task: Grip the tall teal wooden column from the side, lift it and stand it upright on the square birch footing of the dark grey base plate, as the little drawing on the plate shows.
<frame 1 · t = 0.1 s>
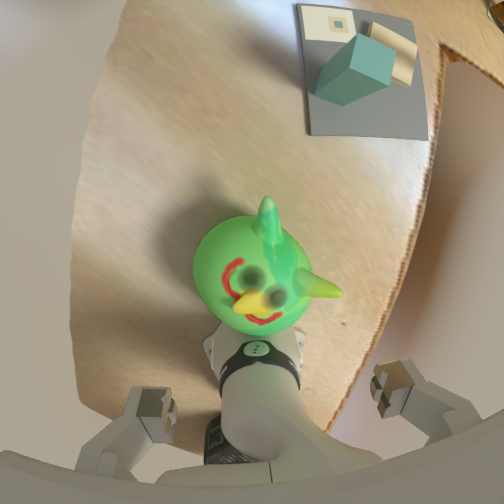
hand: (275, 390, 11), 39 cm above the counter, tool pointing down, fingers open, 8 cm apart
toy bird: (254, 259, 51), on the counter, touching arm
column: (332, 87, 42), point 1 cm above the counter, touching base plate
canister: (240, 430, 63), on the counter
base plate: (366, 69, 42), on the counter
condiment: (498, 19, 36), on the counter
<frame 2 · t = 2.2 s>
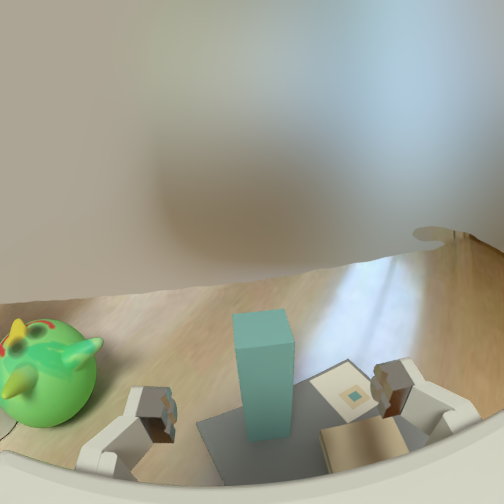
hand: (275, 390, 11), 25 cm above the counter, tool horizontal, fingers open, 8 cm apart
toy bird: (64, 405, 36), on the counter, touching arm
column: (266, 423, 34), point 1 cm above the counter, touching base plate
base plate: (323, 452, 30), on the counter
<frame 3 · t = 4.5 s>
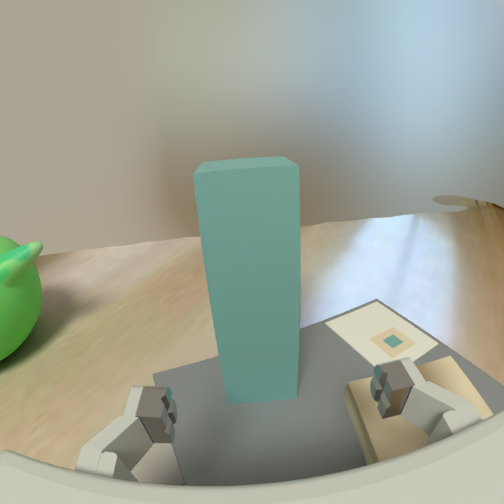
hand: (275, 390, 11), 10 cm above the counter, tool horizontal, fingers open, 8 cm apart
toy bird: (1, 352, 26), on the counter, touching arm
column: (259, 378, 23), point 1 cm above the counter, touching base plate
base plate: (352, 424, 18), on the counter
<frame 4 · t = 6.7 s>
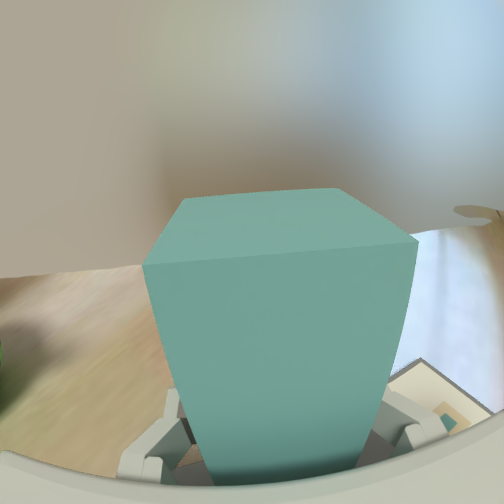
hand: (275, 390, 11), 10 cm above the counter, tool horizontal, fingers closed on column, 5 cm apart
column: (278, 491, 14), point 1 cm above the counter, touching base plate, gripper
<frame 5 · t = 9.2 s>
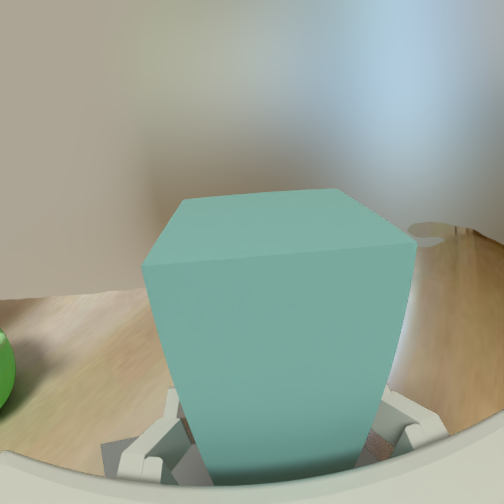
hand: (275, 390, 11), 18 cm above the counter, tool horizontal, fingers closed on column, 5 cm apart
column: (278, 491, 14), point 10 cm above the counter, touching gripper
when the fingers open (13 cm above the counter, at t = 11.5 s): column stays where it is, resting on base plate.
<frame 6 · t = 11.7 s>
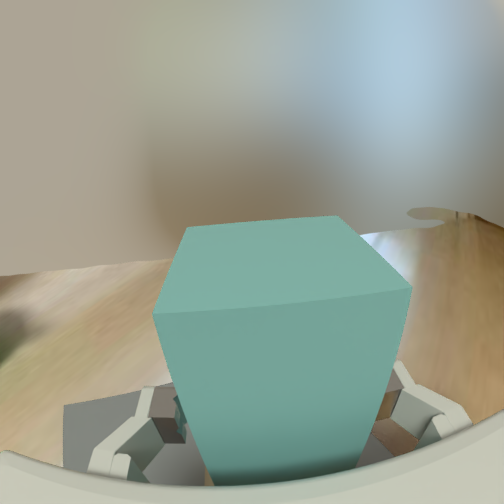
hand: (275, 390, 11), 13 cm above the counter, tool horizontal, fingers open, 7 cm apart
column: (278, 496, 14), point 3 cm above the counter, touching base plate
base plate: (216, 481, 17), on the counter
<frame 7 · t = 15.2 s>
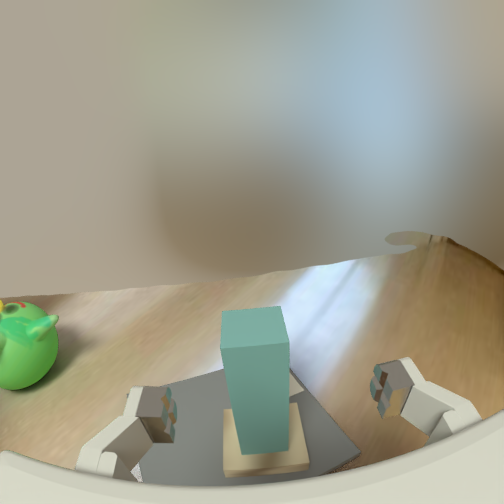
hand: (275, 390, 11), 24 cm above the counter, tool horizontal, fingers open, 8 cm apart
toy bird: (32, 376, 41), on the counter, touching arm
column: (263, 435, 30), point 3 cm above the counter, touching base plate
base plate: (229, 433, 34), on the counter
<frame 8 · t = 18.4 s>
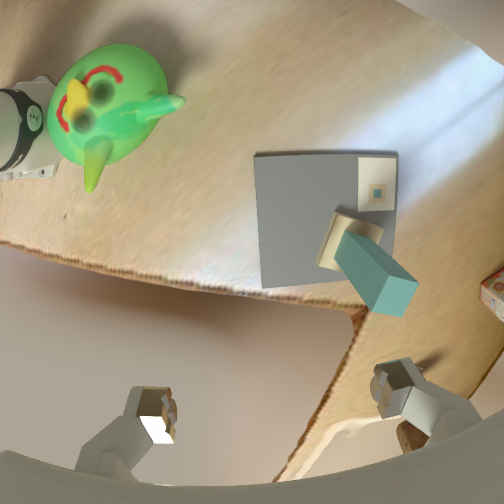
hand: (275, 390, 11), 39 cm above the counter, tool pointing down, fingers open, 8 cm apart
block: (409, 422, 77), on the counter
toy bird: (124, 109, 41), on the counter, touching arm
cracker box: (497, 280, 58), on the counter
column: (352, 248, 49), point 3 cm above the counter, touching base plate
base plate: (330, 220, 50), on the counter
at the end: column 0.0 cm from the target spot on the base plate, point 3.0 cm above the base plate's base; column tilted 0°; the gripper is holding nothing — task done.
